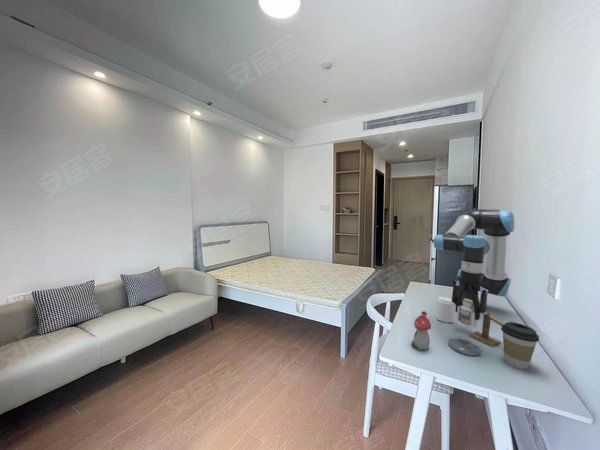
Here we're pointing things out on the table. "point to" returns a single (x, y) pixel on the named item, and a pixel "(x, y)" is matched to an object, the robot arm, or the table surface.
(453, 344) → the flat grey disc
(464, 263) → the robot arm
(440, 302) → the beverage can
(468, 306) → the pill bottle
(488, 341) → the balance
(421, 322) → the decorative ornament
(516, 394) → the table surface
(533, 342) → the coffee cup
